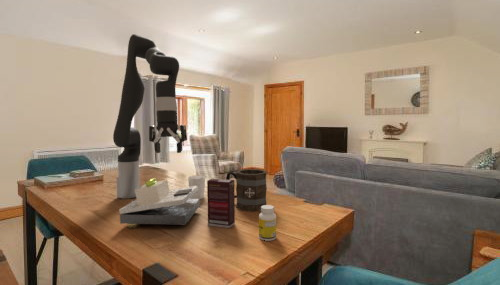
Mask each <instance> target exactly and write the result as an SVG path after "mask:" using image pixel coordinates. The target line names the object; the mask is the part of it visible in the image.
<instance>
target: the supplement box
mask: <svg viewBox="0 0 500 285" xmlns="http://www.w3.org/2000/svg"><path fill="white" fill-rule="evenodd" d="M206 183H207V186H206V188H207V192H206V193H207V226H210V227H211V226H212V227H216V228H217V227H220V228H226V229H230V228H232V227H233V226H234V225H235V224H236V217H235V216H236V214H235V212H236V210H235V208H236V207H235V206H236V204H235V199H236V198H235V195H236V194H235V179H230V180H229V179H226V178H214V177H213V178H211V179H209V180H207V181H206Z"/></svg>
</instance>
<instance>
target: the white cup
mask: <svg viewBox="0 0 500 285" xmlns="http://www.w3.org/2000/svg"><path fill="white" fill-rule="evenodd" d="M187 180H188V187H192V186H198V190H197V191H196V192H195V193H194V194H193V195H192V196H191V197H190V198H189V199H199V200H201V199H204V198H205V191H206V190H205V188H206V186H205V185H206V183H205V182H206V176H205V175H199V174H198V175H196V174H195V175H190V176H188V178H187Z"/></svg>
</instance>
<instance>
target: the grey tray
mask: <svg viewBox="0 0 500 285" xmlns="http://www.w3.org/2000/svg"><path fill="white" fill-rule="evenodd" d="M200 204H201V203H200V199H191V198H189V199H188V200H187V201H186V202H185V203H184V204H180V205H174V206H167V207H161V208H155V209H148V210H142V211H136V212H129V213H123V214H120V213H119V218H120V219H119V222H120V224H126V226H127V228H128V229H136V228H138V226H139V227H140V226H141V225H175V226H176V225H181V226H182V225H183V226H185V225H186V224H187V223H188V222H189V221H191V220H192V217H193V215H194V214H196V212H197V210H198V209H199V208H200V206H201V205H200ZM135 227H136V228H135Z"/></svg>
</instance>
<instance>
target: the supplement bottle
mask: <svg viewBox="0 0 500 285" xmlns="http://www.w3.org/2000/svg"><path fill="white" fill-rule="evenodd" d="M260 211H261V212H260V213H259V215H258V237H259V239H260V240H262V241H264V240H265V241H266V242H270V241H274V240H276V239H277V215H276V213H274V212H275V207H274V206H273V205H270V204H267V205H263V206H261V210H260Z"/></svg>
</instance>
